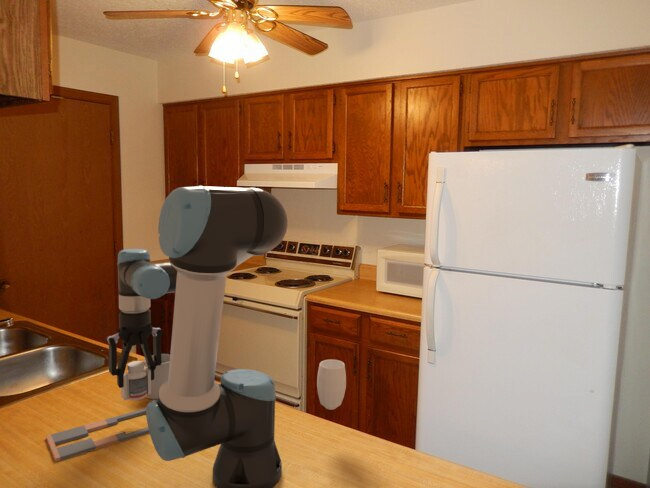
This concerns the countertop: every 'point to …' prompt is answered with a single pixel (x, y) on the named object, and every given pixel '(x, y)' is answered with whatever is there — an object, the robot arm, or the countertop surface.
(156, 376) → the mug
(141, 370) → the pill bottle
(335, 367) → the cup
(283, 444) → the countertop surface
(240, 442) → the robot arm
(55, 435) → the keyhole board
